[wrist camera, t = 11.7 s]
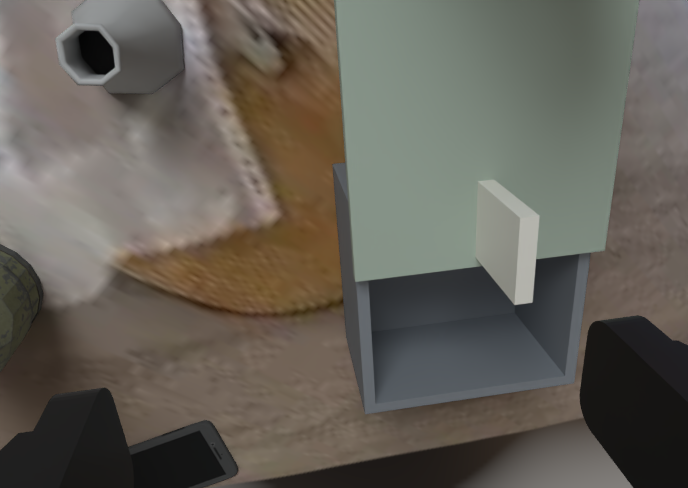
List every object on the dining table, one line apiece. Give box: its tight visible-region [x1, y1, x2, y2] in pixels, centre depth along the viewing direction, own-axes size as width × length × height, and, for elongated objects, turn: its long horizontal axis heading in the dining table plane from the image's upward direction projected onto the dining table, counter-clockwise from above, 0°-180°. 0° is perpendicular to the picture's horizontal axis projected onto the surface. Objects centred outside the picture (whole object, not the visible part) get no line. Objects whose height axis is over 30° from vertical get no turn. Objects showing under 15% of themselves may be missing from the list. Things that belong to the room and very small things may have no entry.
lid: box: [334, 0, 639, 305], centre depth 30 cm, size 16×16×7 cm
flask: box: [55, 0, 184, 94], centre depth 33 cm, size 7×7×10 cm
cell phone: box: [128, 420, 238, 488], centre depth 53 cm, size 7×14×1 cm, turn 108°
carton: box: [332, 163, 591, 414], centre depth 43 cm, size 16×16×10 cm
